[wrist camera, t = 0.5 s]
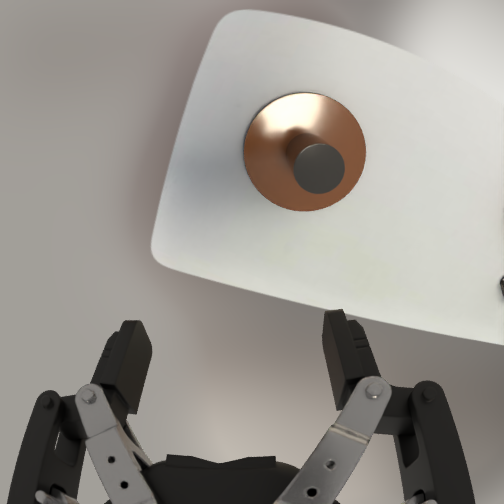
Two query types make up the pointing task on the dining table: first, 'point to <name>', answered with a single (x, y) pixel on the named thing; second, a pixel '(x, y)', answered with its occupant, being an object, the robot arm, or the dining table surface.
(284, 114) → the crock lid
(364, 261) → the dining table surface
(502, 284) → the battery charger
